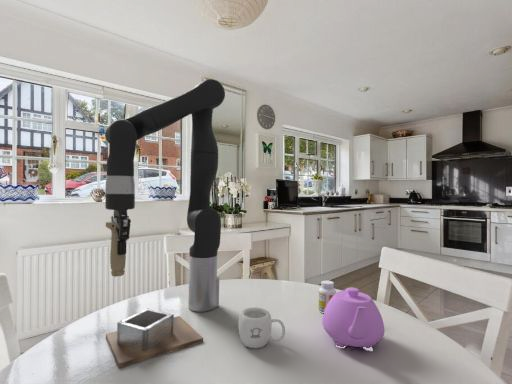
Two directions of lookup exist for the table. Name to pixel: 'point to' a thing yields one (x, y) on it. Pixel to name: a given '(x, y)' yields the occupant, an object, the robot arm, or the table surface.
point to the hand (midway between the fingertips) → (120, 252)
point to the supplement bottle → (325, 294)
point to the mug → (257, 327)
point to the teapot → (353, 319)
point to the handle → (115, 253)
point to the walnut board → (177, 340)
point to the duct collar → (145, 329)
